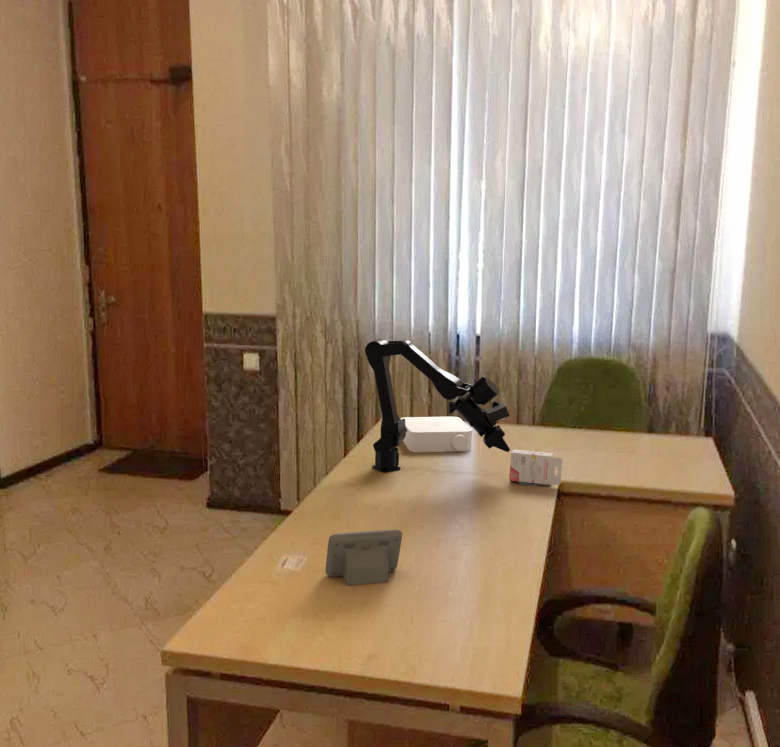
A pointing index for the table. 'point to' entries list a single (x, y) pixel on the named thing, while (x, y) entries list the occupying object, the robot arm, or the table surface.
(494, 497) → the table surface
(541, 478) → the ink cartridge box
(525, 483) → the mat
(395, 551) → the digital clock
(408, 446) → the projector
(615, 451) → the table surface
